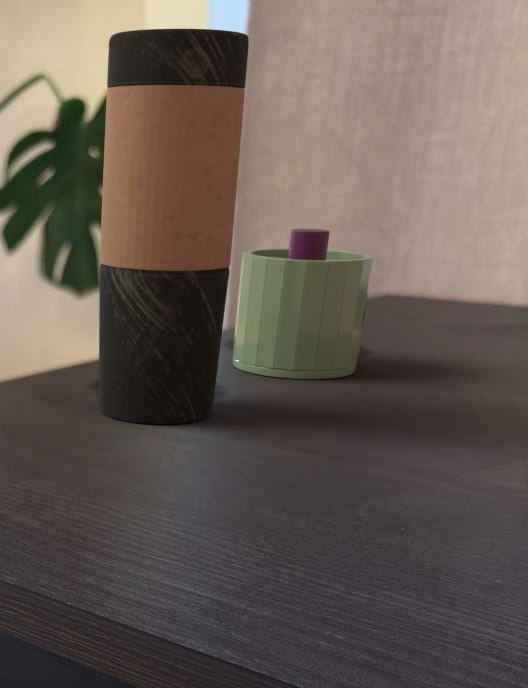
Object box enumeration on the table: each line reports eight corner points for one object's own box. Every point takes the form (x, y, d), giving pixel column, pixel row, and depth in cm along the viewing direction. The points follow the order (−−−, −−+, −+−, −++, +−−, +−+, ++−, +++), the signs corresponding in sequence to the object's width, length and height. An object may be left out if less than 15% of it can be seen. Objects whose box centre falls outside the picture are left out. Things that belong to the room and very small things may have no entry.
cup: (318, 353, 77) (333, 247, 74) (379, 376, 69) (398, 259, 66) (213, 357, 75) (223, 248, 72) (263, 381, 67) (277, 261, 64)
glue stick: (302, 354, 74) (318, 228, 69) (318, 361, 71) (336, 231, 67) (270, 355, 73) (284, 228, 69) (285, 362, 71) (302, 231, 66)
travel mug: (241, 415, 59) (282, 35, 50) (147, 432, 55) (171, 24, 46) (161, 391, 64) (184, 46, 55) (70, 405, 61) (78, 36, 51)
